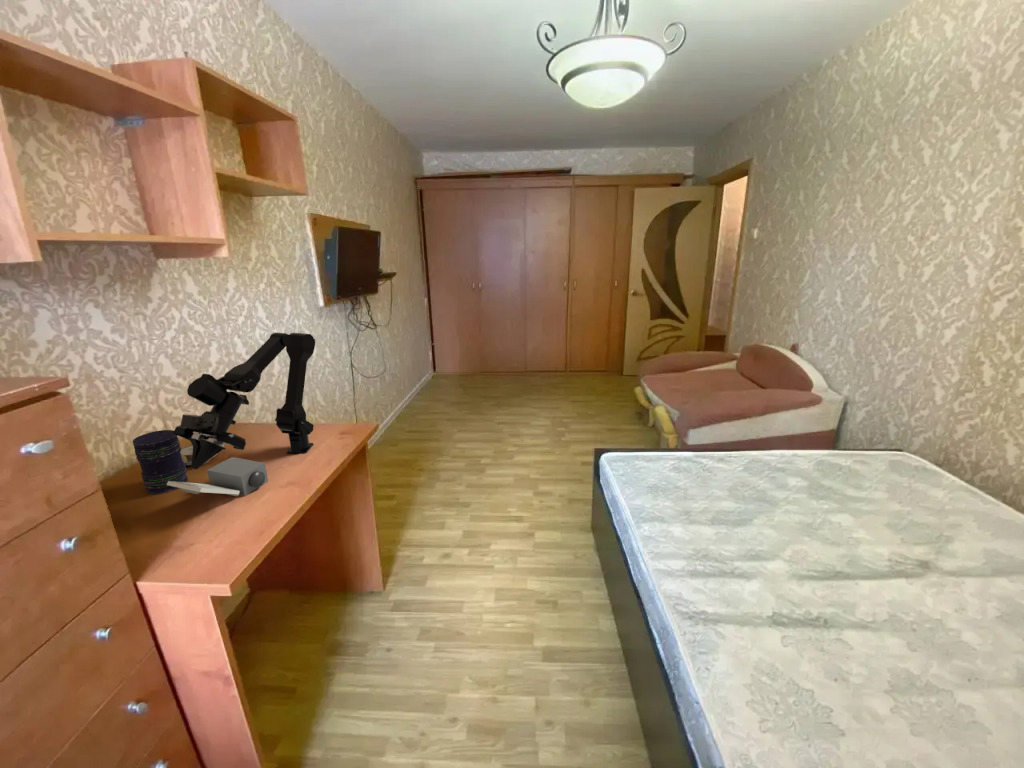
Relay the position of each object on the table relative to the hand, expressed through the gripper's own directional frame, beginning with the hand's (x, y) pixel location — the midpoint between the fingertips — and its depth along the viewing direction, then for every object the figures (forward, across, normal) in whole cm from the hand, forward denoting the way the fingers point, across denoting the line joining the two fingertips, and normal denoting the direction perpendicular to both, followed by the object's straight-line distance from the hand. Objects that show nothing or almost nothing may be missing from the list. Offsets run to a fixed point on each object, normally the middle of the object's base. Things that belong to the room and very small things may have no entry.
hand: (193, 468), depth 111 cm
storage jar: (+4, -20, +12) cm, 24 cm away
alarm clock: (-5, -26, +22) cm, 34 cm away
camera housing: (0, 0, +16) cm, 16 cm away
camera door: (+3, 0, +12) cm, 12 cm away
